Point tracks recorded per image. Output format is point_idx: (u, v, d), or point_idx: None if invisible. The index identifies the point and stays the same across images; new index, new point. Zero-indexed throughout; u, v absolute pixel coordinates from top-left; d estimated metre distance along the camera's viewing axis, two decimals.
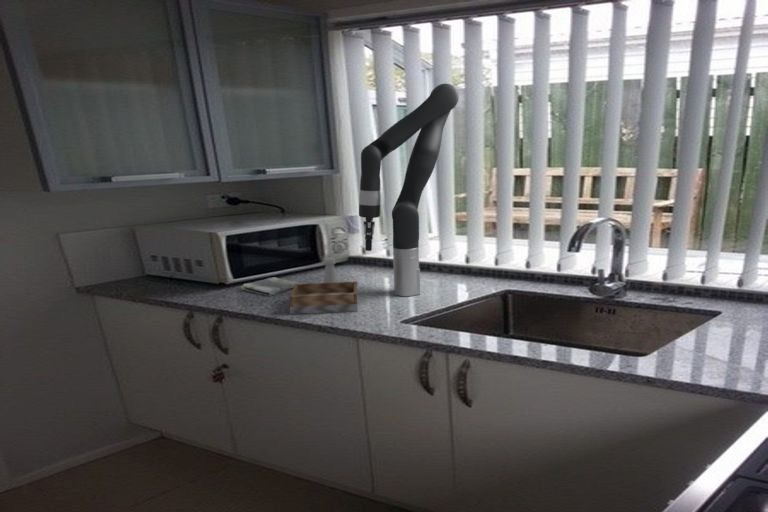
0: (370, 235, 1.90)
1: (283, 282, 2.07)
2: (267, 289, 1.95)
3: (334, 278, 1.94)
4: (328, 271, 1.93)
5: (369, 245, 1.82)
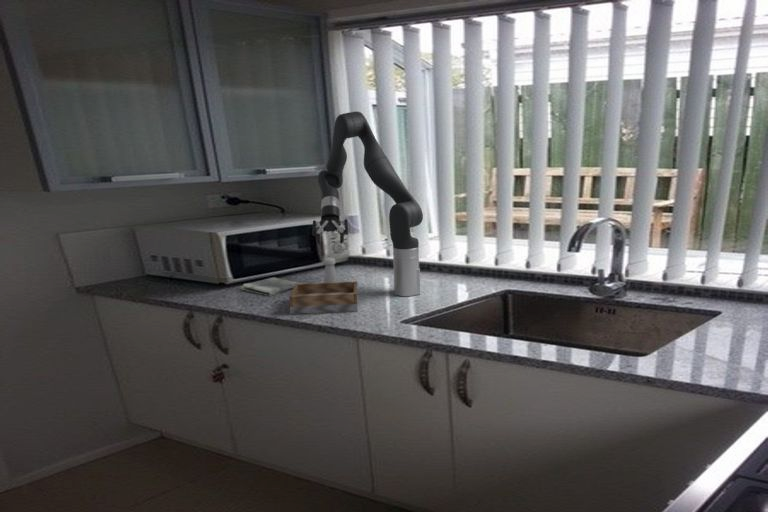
0: (340, 233, 2.06)
1: (283, 282, 2.07)
2: (267, 289, 1.95)
3: (334, 278, 1.94)
4: (328, 271, 1.93)
5: None
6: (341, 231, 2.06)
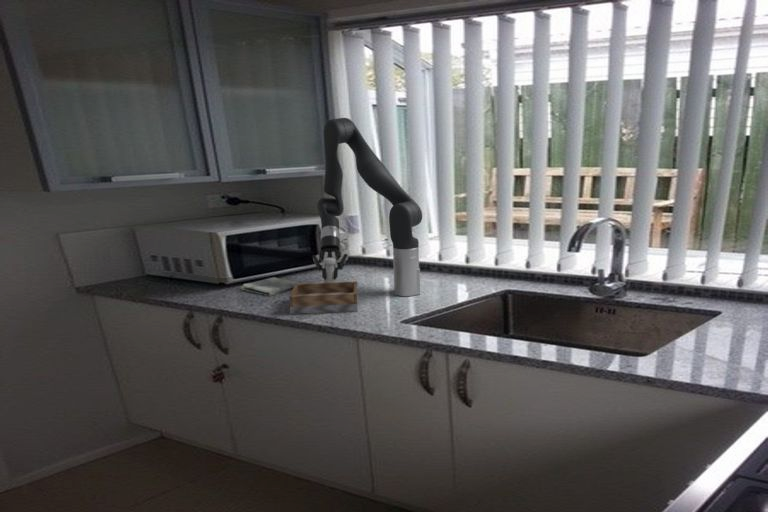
0: (334, 268, 1.95)
1: (283, 282, 2.07)
2: (267, 289, 1.95)
3: None
4: (327, 271, 1.93)
5: (322, 273, 1.94)
6: (335, 266, 1.94)
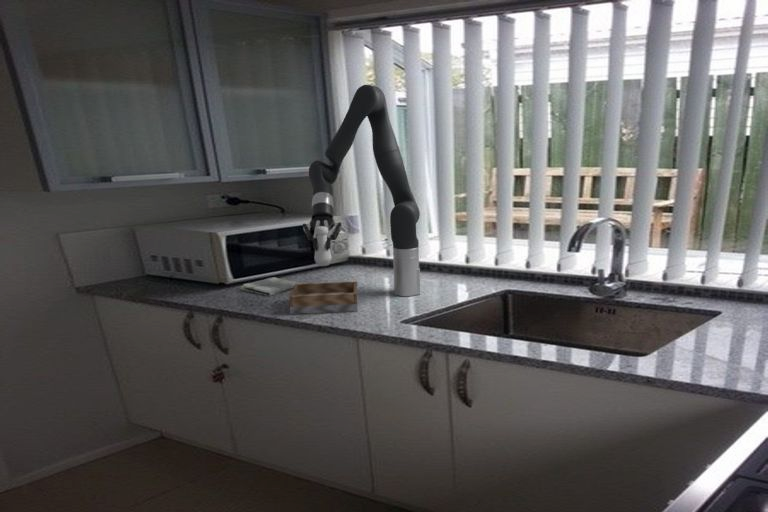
0: None
1: (283, 282, 2.07)
2: (267, 289, 1.95)
3: None
4: (319, 241, 1.73)
5: None
6: (327, 236, 1.75)
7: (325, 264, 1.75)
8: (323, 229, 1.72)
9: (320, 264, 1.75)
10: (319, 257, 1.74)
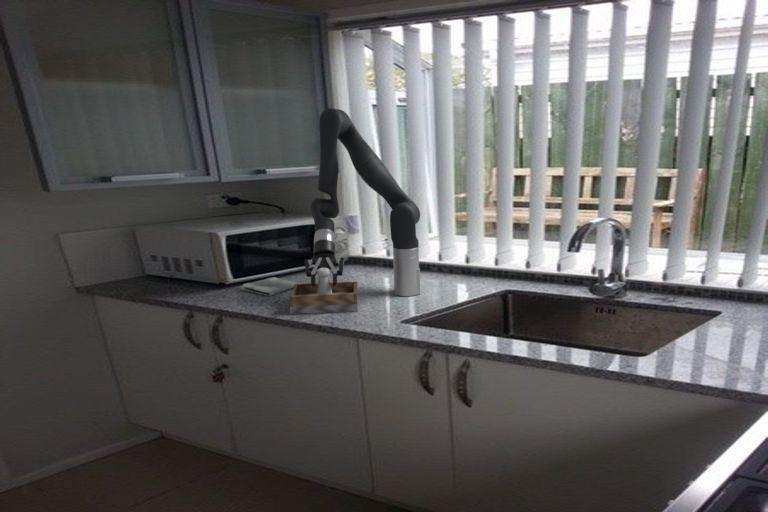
0: (333, 274, 1.78)
1: (283, 282, 2.07)
2: (267, 289, 1.95)
3: (329, 290, 1.78)
4: (321, 283, 1.77)
5: (311, 280, 1.77)
6: (334, 272, 1.78)
7: None
8: (325, 271, 1.76)
9: None
10: None
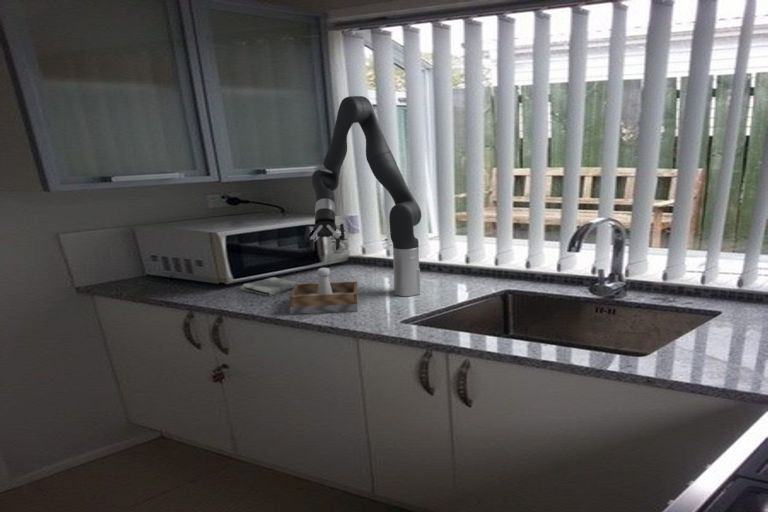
0: (336, 238, 1.89)
1: (283, 282, 2.07)
2: (267, 289, 1.95)
3: (329, 290, 1.78)
4: (321, 282, 1.77)
5: (310, 245, 1.87)
6: (337, 237, 1.88)
7: None
8: (325, 271, 1.76)
9: None
10: None
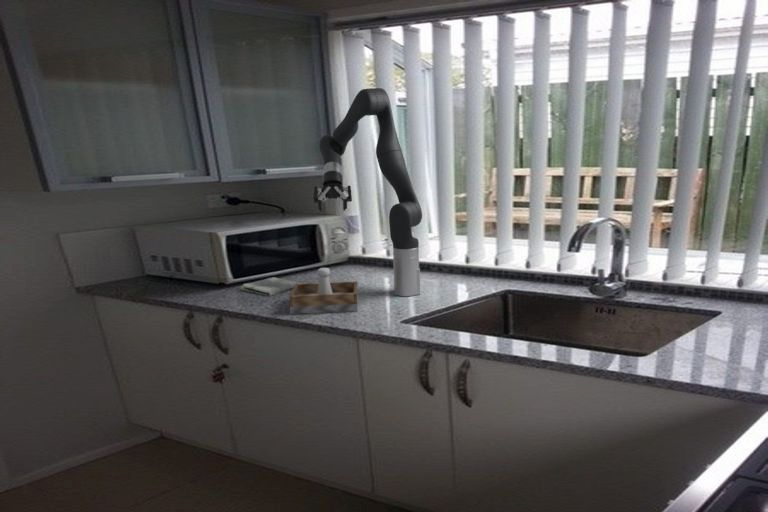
0: (343, 199, 1.94)
1: (283, 282, 2.07)
2: (267, 289, 1.95)
3: (329, 290, 1.78)
4: (321, 282, 1.77)
5: (318, 205, 1.93)
6: (344, 197, 1.94)
7: None
8: (325, 271, 1.76)
9: None
10: None
